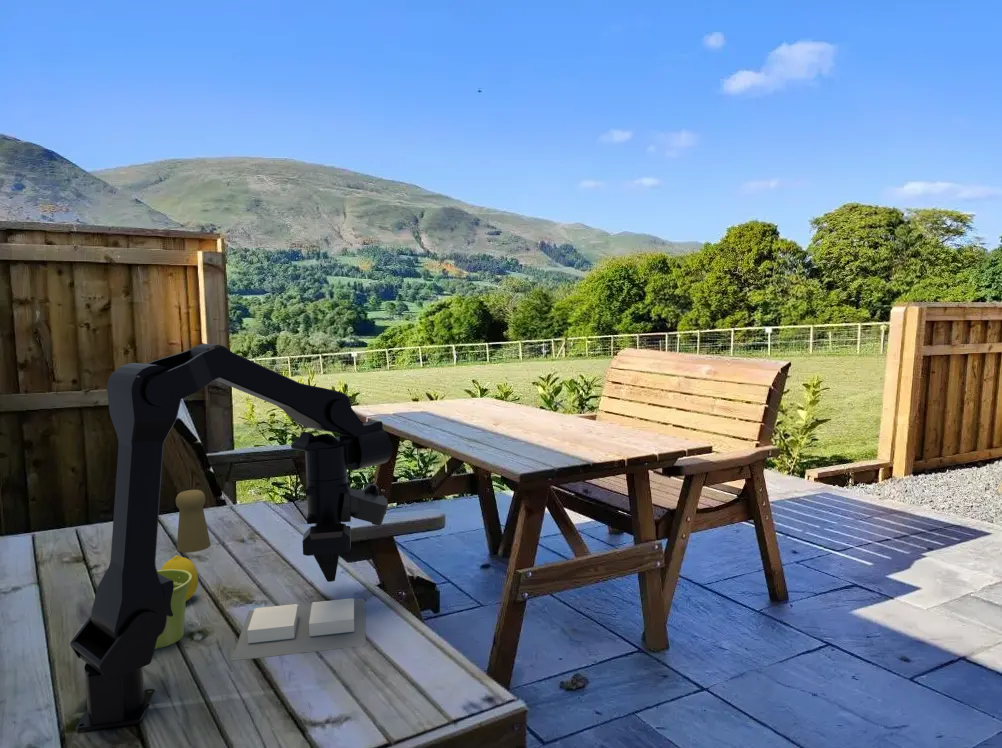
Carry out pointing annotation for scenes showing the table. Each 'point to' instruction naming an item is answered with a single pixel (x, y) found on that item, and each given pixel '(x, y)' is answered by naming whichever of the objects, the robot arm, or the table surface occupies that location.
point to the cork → (192, 522)
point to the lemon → (188, 566)
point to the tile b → (331, 617)
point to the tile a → (273, 623)
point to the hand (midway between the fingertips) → (331, 580)
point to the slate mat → (302, 637)
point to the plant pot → (175, 607)
